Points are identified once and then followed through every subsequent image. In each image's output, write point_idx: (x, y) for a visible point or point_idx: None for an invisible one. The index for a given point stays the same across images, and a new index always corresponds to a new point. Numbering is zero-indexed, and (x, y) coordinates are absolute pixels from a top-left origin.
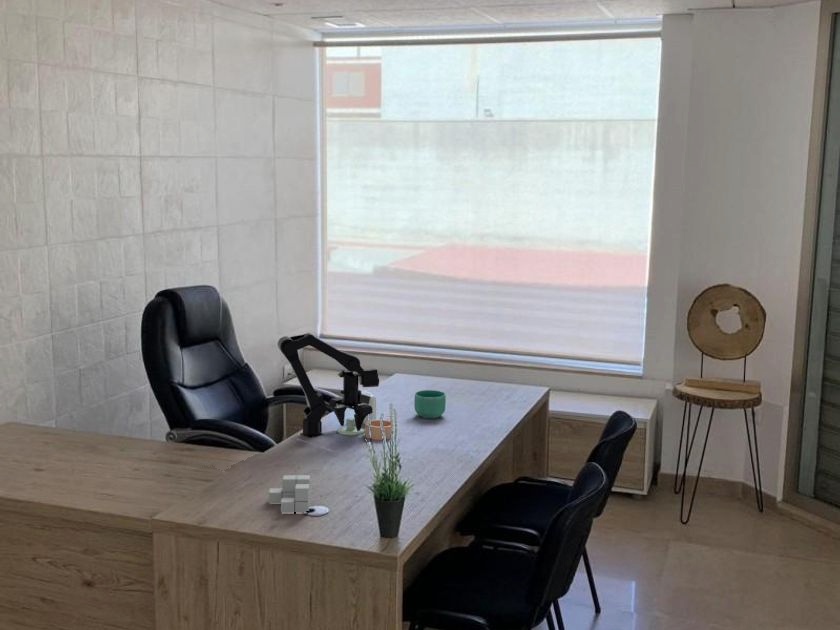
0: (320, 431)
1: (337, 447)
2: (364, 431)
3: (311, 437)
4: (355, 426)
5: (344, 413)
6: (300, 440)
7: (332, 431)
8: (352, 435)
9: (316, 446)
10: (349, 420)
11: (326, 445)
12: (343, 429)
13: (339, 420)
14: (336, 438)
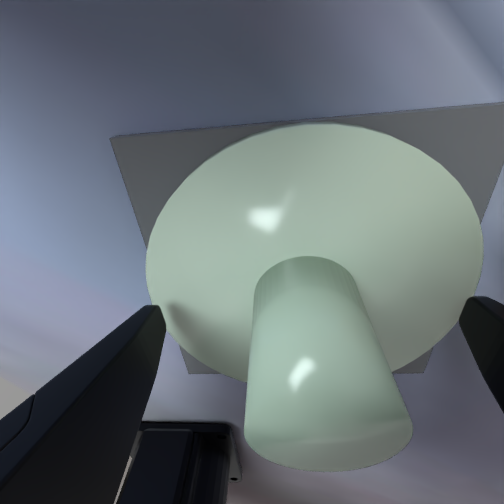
0: (200, 451)
1: (481, 476)
2: (434, 145)
3: (241, 475)
4: (212, 158)
5: (21, 473)
6: (238, 493)
7: (192, 371)
8: None
9: (371, 501)
10: (360, 467)
11: (401, 482)
12: (245, 336)
13: (138, 415)
14: None
